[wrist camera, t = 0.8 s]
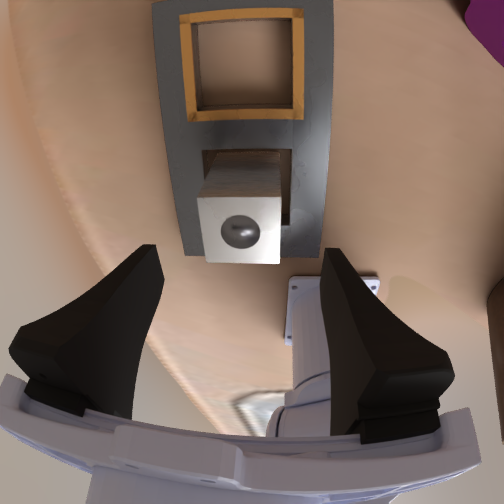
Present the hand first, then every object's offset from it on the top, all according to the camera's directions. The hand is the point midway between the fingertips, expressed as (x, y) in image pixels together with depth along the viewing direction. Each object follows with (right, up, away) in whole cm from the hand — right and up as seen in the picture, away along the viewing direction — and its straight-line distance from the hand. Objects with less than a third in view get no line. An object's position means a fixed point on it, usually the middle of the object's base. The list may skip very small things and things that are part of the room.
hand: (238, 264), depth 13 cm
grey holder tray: (0, +8, +5) cm, 10 cm away
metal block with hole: (0, +6, +8) cm, 9 cm away
